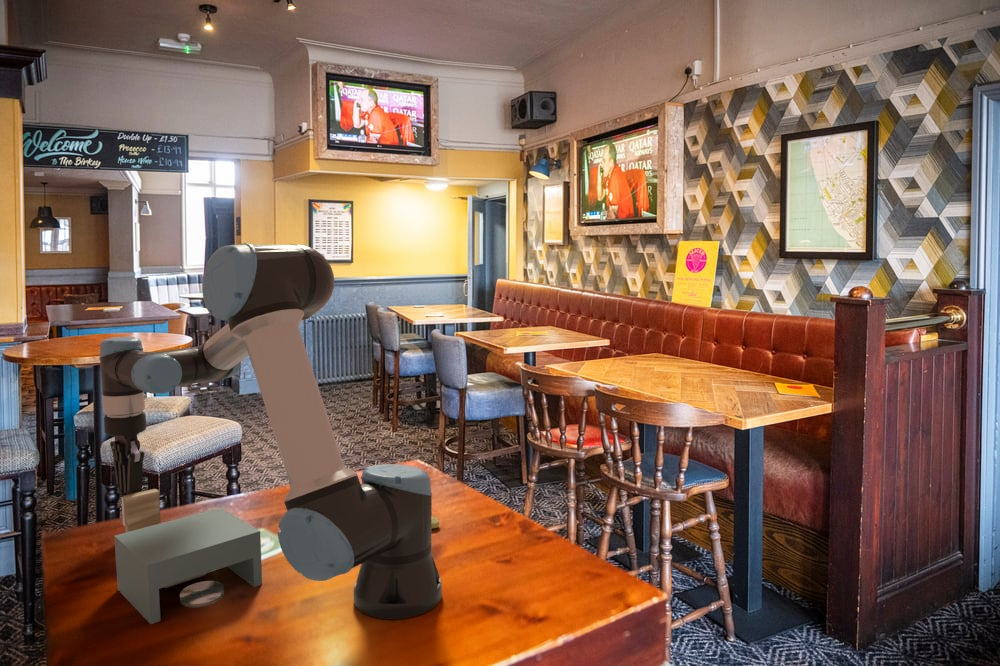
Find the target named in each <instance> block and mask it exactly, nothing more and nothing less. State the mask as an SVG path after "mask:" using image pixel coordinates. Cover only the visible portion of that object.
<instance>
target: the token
mask: <svg viewBox="0 0 1000 666" xmlns="http://www.w3.org/2000/svg"><path fill="white" fill-rule="evenodd" d="M224 596H225V586H224V584H223V583H222V582H220V581H217V580H216V581H215V580H205V581H200V582H194V583H192V584H190V585H188V586H186V587H183V588H182V590H181V591H180V594H179V601H180V605H182V606H183V607H186V608H203V607H208V606H211V605H214V604H216V603H217V602H219V601H221V600H222V599H223V597H224Z"/></svg>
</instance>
